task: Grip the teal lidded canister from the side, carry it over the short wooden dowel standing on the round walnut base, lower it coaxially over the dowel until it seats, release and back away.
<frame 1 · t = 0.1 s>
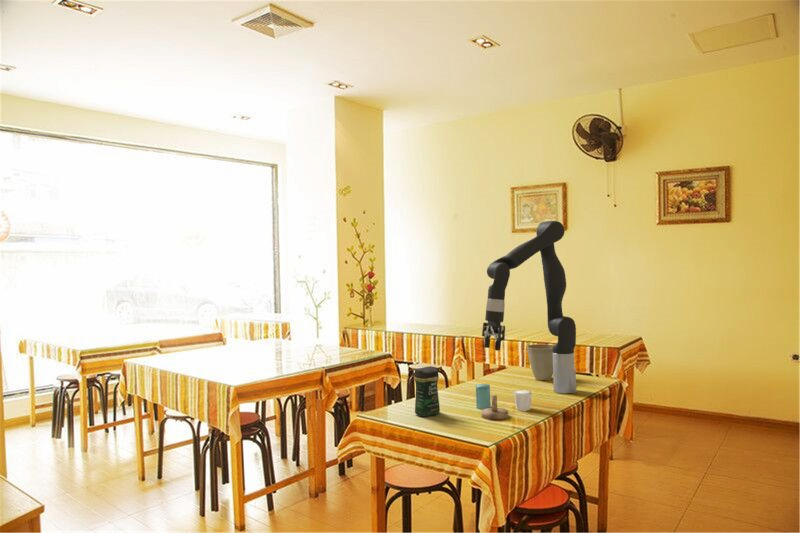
hand: (492, 349, 239), 22 cm above the table, tool pointing down, fingers open, 8 cm apart
coffee jar: (427, 414, 226), on the table
post: (494, 416, 219), on the table
teal lidded canister: (483, 407, 232), on the table
white cup: (523, 409, 227), on the table
plant pot: (543, 379, 278), on the table
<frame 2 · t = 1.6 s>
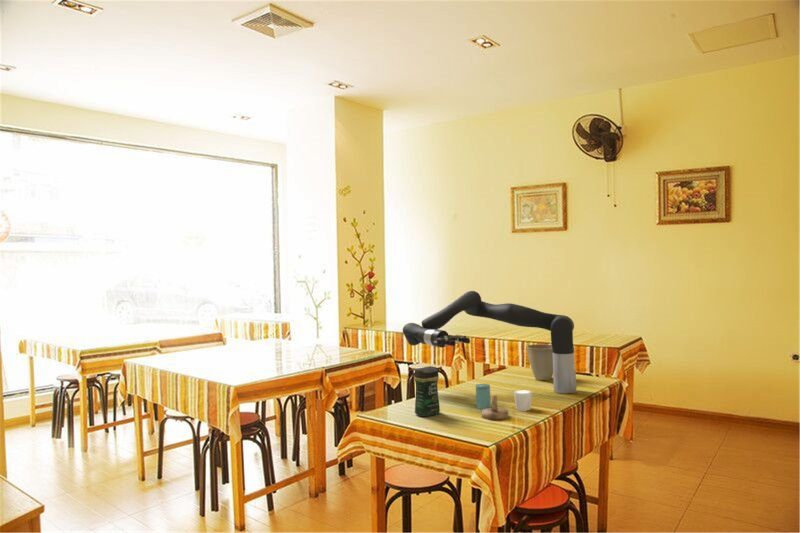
hand: (462, 342, 240), 26 cm above the table, tool horizontal, fingers open, 8 cm apart
nothing on the table moved.
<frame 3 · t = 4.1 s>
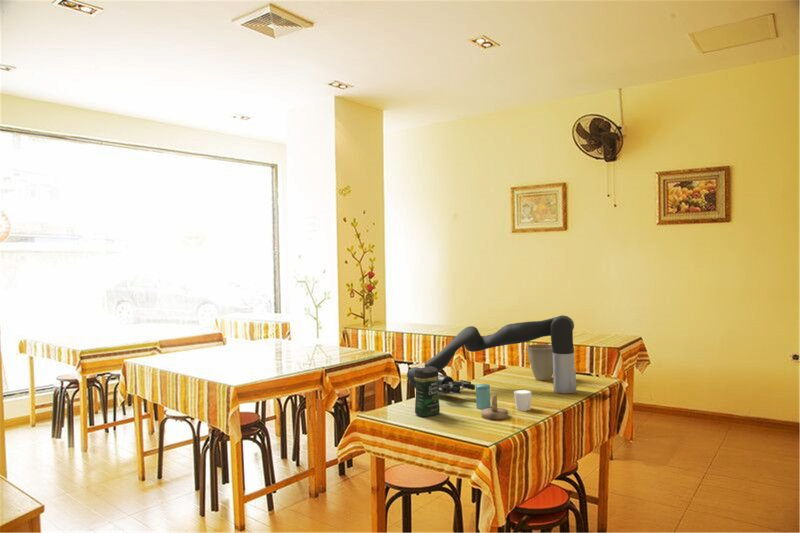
hand: (467, 389, 239), 6 cm above the table, tool horizontal, fingers open, 8 cm apart
nothing on the table moved.
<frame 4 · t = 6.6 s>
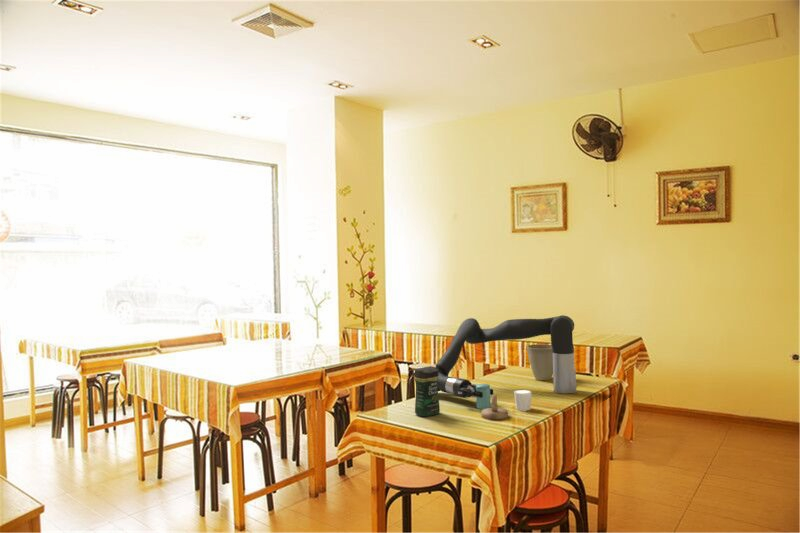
hand: (487, 393, 230), 6 cm above the table, tool horizontal, fingers closed on teal lidded canister, 5 cm apart
teal lidded canister: (483, 407, 232), on the table, touching gripper
everything else where it was.
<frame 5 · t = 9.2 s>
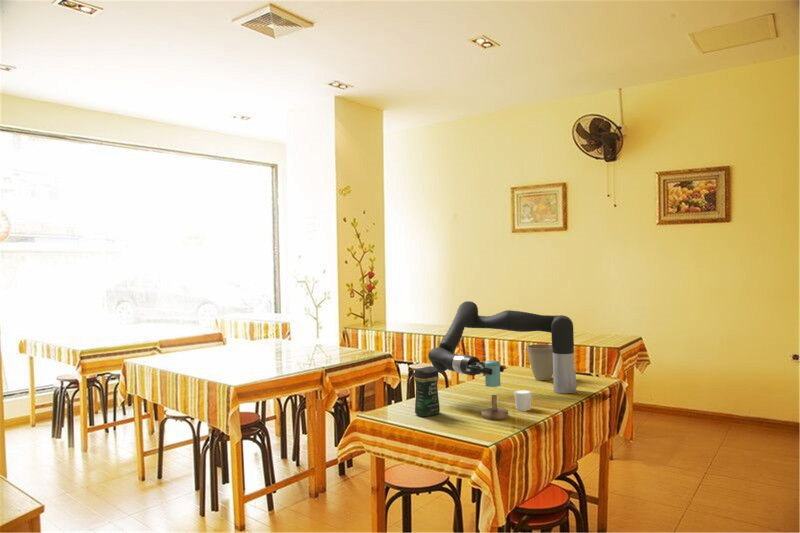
hand: (497, 370, 217), 18 cm above the table, tool horizontal, fingers closed on teal lidded canister, 5 cm apart
teal lidded canister: (493, 385, 219), point 12 cm above the table, touching gripper
everything else where it was.
when the fingers open (9 cm above the table, at t = 11.7 s): teal lidded canister drops 1 cm, resting on post.
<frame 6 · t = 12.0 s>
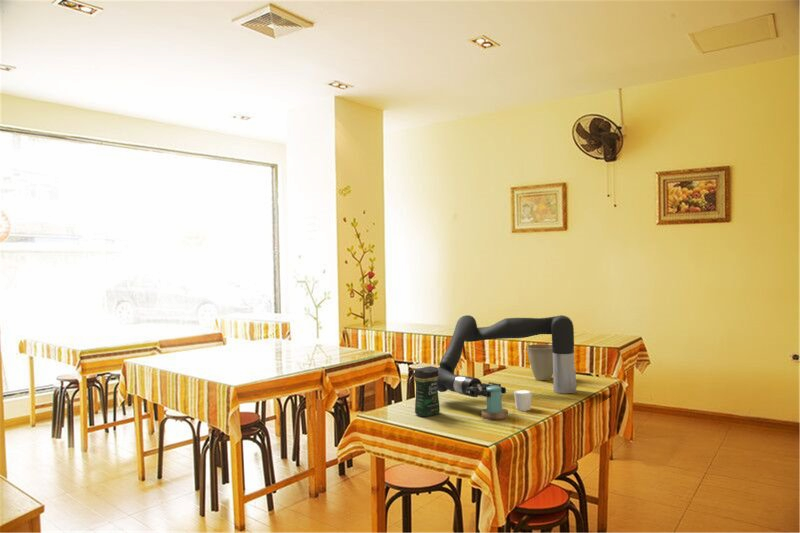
hand: (497, 392, 217), 10 cm above the table, tool horizontal, fingers open, 8 cm apart
teal lidded canister: (494, 411, 219), point 2 cm above the table, touching post
everything else where it was.
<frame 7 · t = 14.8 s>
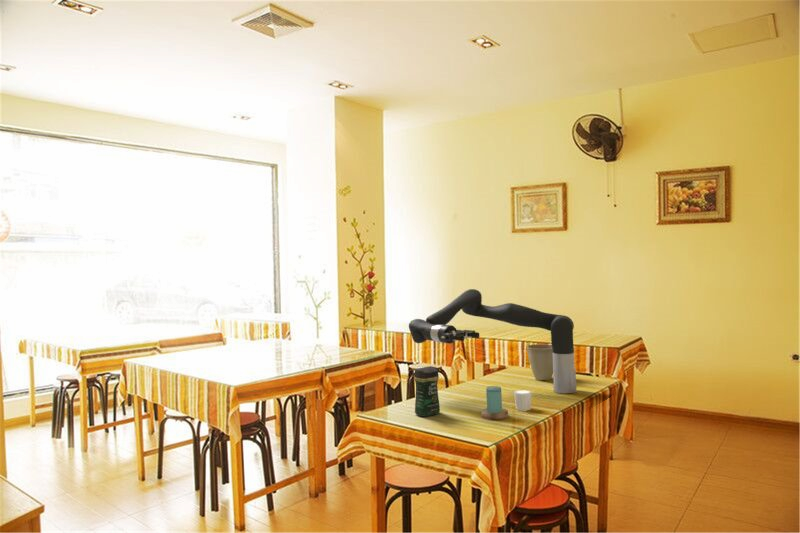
hand: (471, 336, 227), 30 cm above the table, tool horizontal, fingers open, 8 cm apart
nothing on the table moved.
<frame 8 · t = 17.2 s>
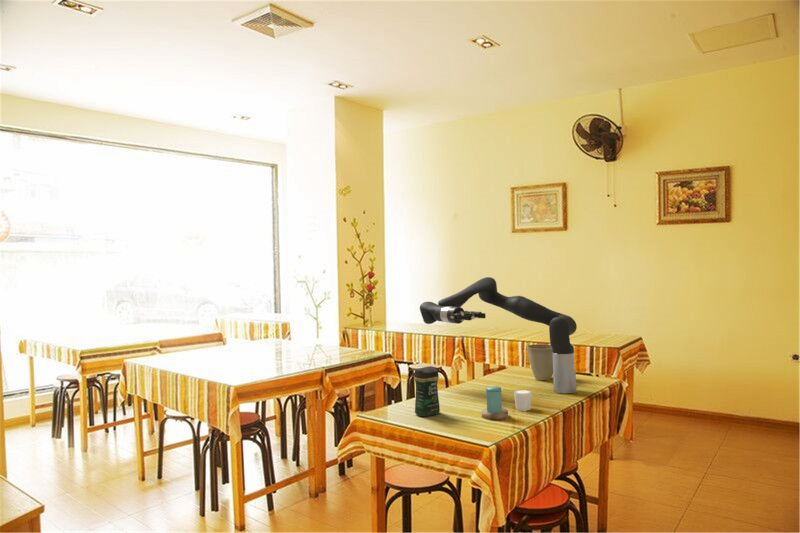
hand: (478, 316, 247), 35 cm above the table, tool horizontal, fingers open, 8 cm apart
nothing on the table moved.
at the end: teal lidded canister 0.1 cm off-centre on the post, point 2.0 cm above the post's base; teal lidded canister tilted 0°; the gripper is holding nothing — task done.
